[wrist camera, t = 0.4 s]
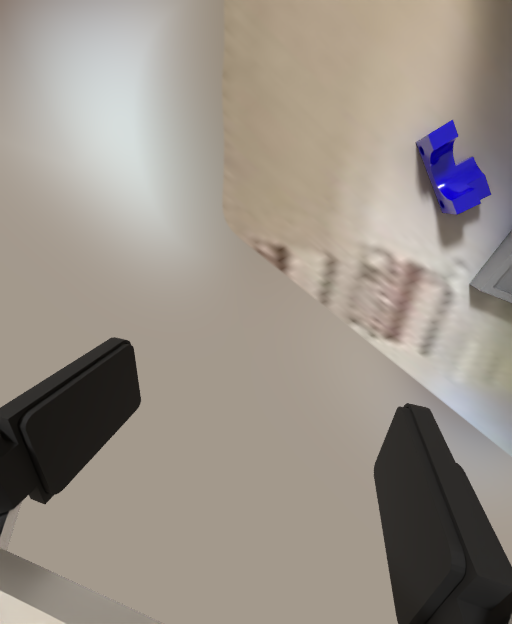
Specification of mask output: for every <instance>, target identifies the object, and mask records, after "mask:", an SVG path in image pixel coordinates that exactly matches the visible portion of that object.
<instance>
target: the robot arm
mask: <svg viewBox="0 0 512 624" xmlns="http://www.w3.org/2000/svg"><path fill="white" fill-rule="evenodd" d="M140 402H141V397H140V390H139V382H138V375H137V368H136V361H135V355H134V348H133V346H131V344H130V342H129V341H128V340H124V339H120V338H110V339H109V340H107V341H106V342H104V343H102V344H101V345H99V346H97V347H96V348H94V349H93V350H91V351H90V352H88V353H86V354H85V355H83V356H82V357H80V358H78V359H77V360H75V361H74V362H72V363H71V364H69V365H67V366H66V367H64V368H63V369H61V370H59V371H58V372H56V373H55V374H53V375H52V376H50V377H48V378H47V379H45V380H44V381H42V382H40V383H39V384H37V385H36V386H34V387H33V388H31V389H29V390H28V391H26V392H24V393H23V394H21V395H20V396H18V397H17V398H15V399H13V400H12V401H10V402H9V403H7V404H5V405H4V406H2V407H1V408H0V624H164V623H162V622H159V621H157V620H155V619H153V618H151V617H148V616H147V615H144V614H142V613H140V612H138V611H136V610H134V609H131V608H129V607H127V606H125V605H123V604H121V603H119V602H116V601H114V600H112V599H110V598H108V597H106V596H103V595H101V594H99V593H97V592H95V591H93V590H90V589H88V588H86V587H84V586H82V585H80V584H78V583H75V582H73V581H71V580H69V579H67V578H65V577H62V576H60V575H58V574H56V573H54V572H51V571H49V570H47V569H45V568H43V567H41V566H38V565H36V564H34V563H32V562H30V561H28V560H25V559H23V558H21V557H19V556H17V555H14V554H12V553H10V552H8V551H7V548H8V545H9V541H10V538H11V535H12V532H13V528H14V525H15V522H16V519H17V515H18V512H19V509H20V505H21V502H22V500H23V499H25V498H26V497H27V495H29V496H30V498H31V499H33V500H35V501H38V502H40V503H43V504H46V503H47V502H48V501H49V500H50V499H51V497H52V496H53V495H54V494H57V493H59V492H61V491H62V490H63V489H64V488H65V487H66V486H67V485H68V484H69V483H70V481H71V480H72V479H73V478H74V477H75V476H76V475H77V474H78V473H79V471H80V470H82V468H83V467H84V466H85V465H86V464H87V463H88V462H89V461H90V460H91V459H92V458H93V457H94V455H95V454H96V453H97V452H98V451H99V450H100V449H101V448H102V447H103V446H104V444H106V442H107V441H108V440H109V439H110V438H111V437H112V436H113V435H114V434H115V433H116V432H117V430H118V429H119V428H120V427H121V426H122V425H123V424H124V423H125V422H126V421H127V420H128V419H129V417H130V416H131V415H132V414H133V413H134V412H135V411H136V410H137V408H138V407H139V405H140ZM374 479H375V485H376V492H377V498H378V504H379V510H380V516H381V522H382V529H383V535H384V542H385V548H386V553H387V560H388V567H389V573H390V579H391V585H392V592H393V598H394V604H395V610H396V616H397V621H398V624H512V567H511V564H510V562H509V560H508V558H507V556H506V554H505V552H504V550H503V548H502V546H501V544H500V542H499V540H498V538H497V536H496V534H495V532H494V530H493V528H492V526H491V524H490V522H489V520H488V518H487V516H486V514H485V512H484V510H483V508H482V506H481V504H480V502H479V500H478V498H477V496H476V494H475V492H474V490H473V488H472V486H471V484H470V482H469V480H468V478H467V476H466V474H465V472H464V470H463V469H462V467H461V466H460V465H459V464H458V463H455V460H454V458H453V456H452V454H451V453H450V450H449V448H448V446H447V444H446V442H445V440H444V437H443V435H442V433H441V431H440V429H439V427H438V425H437V423H436V421H435V419H434V417H433V414H432V413H431V411H430V409H429V408H426V407H422V406H417V405H413V404H408V403H407V404H405V405H404V407H398V408H397V410H396V413H395V415H394V418H393V420H392V423H391V425H390V427H389V430H388V433H387V435H386V438H385V440H384V443H383V445H382V447H381V450H380V453H379V455H378V457H377V460H376V462H375V466H374Z"/></svg>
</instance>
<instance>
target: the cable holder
mask: <svg viewBox="0 0 512 624" xmlns="http://www.w3.org/2000/svg"><path fill="white" fill-rule="evenodd" d="M457 137H458V134H457V131H456V128H455V125H454V122H453V120H451V121H450V122H448V123H446V124H445V125H443V126H441V127H440V128H438V129H437V130H435V131H433V132H432V133H430V134H428V135H427V136H425V137H424V138H422V139H421V140H419V141H418V142H416V144H417V147H418V149H419V152H420V155H421V157H422V160H423V163H424V165H425V168H426V171H427V173H428V176H429V179H430V181H431V184H432V187H433V189H434V192H435V195H436V197H437V200H438V203H439V205H440V208H441V210H442V213H448V214H455V215H458V214H460V213H462V212H464V211H466V210H468V209H470V208H472V207H474V206H476V205H479V204H481V202H480V200H481V199H483V198H485V197H487V196H489V195H491V192H490V189H489V186H488V183H487V180H486V177H485V175H484V174H483V173H482V172H481V170H480V169H479V168H478V166H477V164H476V162H475V160H474V157H470V158H467V159H465V160H463V161H461V162H459V163H458V164H456V165H455V162H454V157H453V144H454V141H455V139H456V138H457Z"/></svg>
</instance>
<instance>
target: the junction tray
mask: <svg viewBox="0 0 512 624" xmlns="http://www.w3.org/2000/svg"><path fill="white" fill-rule="evenodd" d="M470 285H472V286H473V287H475V288H477V289H478V290H480V291H482V292H485V293H487V294H490V295H492V296H495V297H497V298H500V299H502V300H505V301H508V302H510V303H512V231H511V232H510V233H509V234H508V236H507V237H506V238H505V239H504V241H503V242H502V243H501V245H500V246H499V247H498V248H497V250H496V251H495V252H494V253H493V255H492V256H491V257H490V259H489V260H488V261H487V262H486V264H485V265H484V266H483V267H482V269H481V270H480V271H479V272H478V274H477V275H476V276H475V278H474V279H473V280H472V281H471V283H470Z"/></svg>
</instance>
